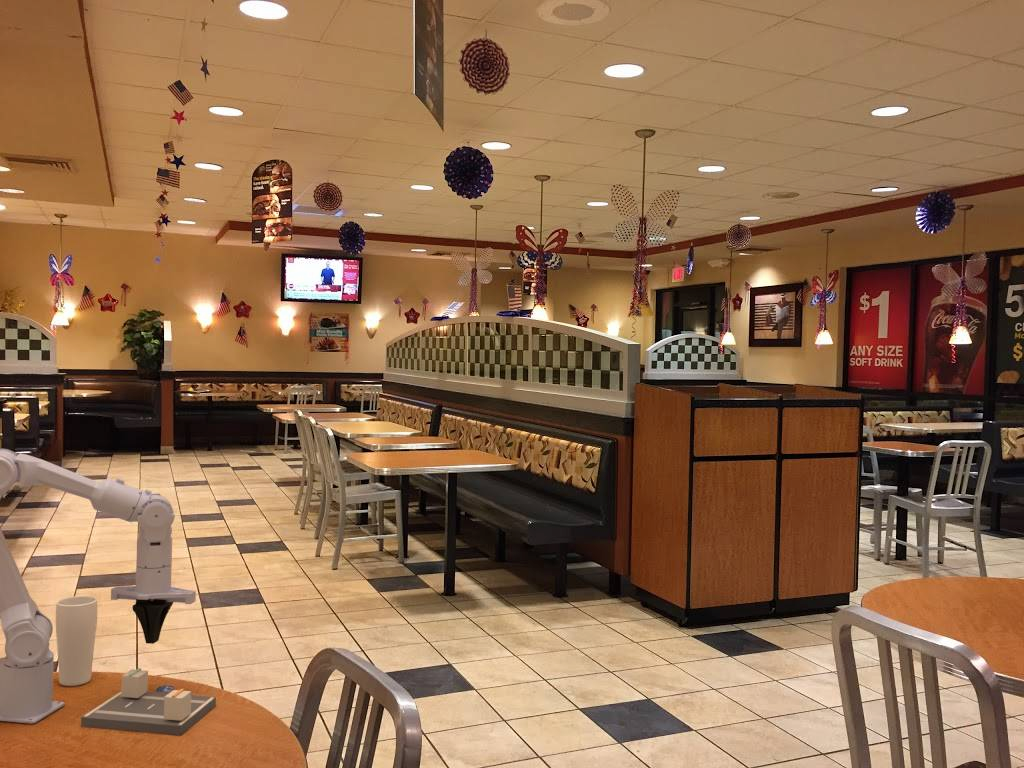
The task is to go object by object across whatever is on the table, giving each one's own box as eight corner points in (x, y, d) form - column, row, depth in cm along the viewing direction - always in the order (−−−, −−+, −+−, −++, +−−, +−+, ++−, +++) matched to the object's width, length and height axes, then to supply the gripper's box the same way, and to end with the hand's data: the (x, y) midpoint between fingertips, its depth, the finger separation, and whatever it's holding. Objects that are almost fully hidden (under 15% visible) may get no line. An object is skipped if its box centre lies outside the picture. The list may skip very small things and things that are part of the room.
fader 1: (121, 696, 145) (121, 674, 145) (131, 690, 148) (131, 667, 148) (137, 698, 145) (138, 675, 145) (147, 691, 148) (148, 669, 148)
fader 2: (163, 719, 137) (164, 695, 137) (173, 711, 140) (173, 688, 140) (181, 720, 137) (182, 696, 136) (190, 713, 140) (191, 689, 139)
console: (81, 726, 138) (81, 716, 138) (123, 697, 149) (123, 689, 149) (180, 735, 136) (180, 725, 135) (215, 705, 147) (216, 696, 147)
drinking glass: (78, 690, 152) (80, 607, 152) (45, 686, 153) (47, 603, 153) (104, 677, 159) (105, 597, 158) (72, 673, 160) (73, 594, 160)
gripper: (101, 567, 146) (99, 646, 146) (183, 572, 145) (181, 651, 145) (123, 558, 153) (122, 633, 153) (201, 562, 152) (199, 638, 152)
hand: (152, 641), depth 150 cm, fingers closed
